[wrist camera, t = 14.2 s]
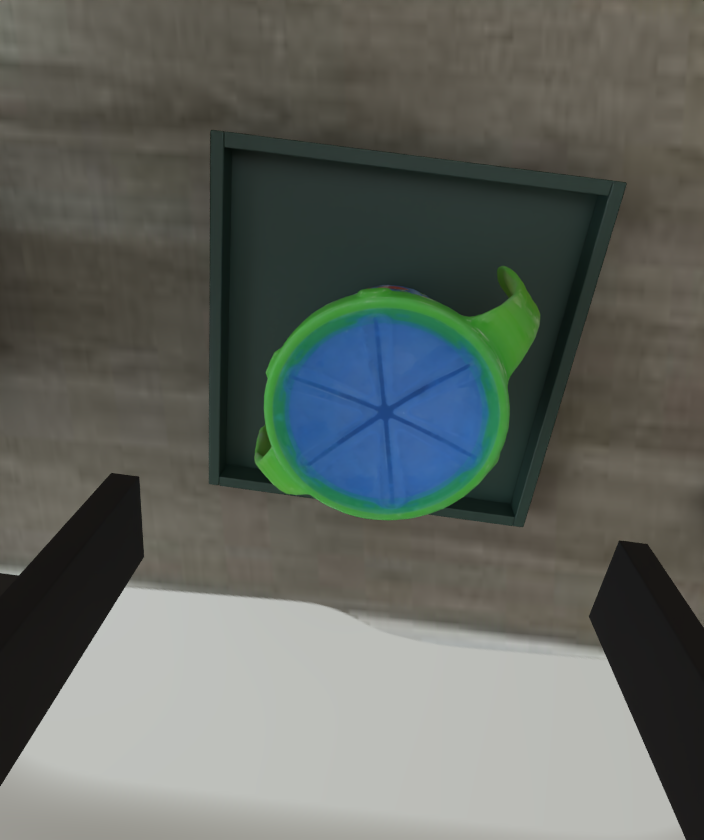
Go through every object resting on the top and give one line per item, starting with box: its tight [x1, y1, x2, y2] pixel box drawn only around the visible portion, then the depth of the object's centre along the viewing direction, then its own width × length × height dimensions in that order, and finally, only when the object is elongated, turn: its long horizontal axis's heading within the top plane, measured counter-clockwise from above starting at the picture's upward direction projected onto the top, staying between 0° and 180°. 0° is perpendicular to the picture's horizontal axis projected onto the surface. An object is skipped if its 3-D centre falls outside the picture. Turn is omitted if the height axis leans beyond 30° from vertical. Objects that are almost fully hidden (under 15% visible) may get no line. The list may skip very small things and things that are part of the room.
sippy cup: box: [254, 266, 540, 520], centre depth 28 cm, size 16×10×10 cm
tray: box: [209, 130, 627, 527], centre depth 32 cm, size 20×20×2 cm
